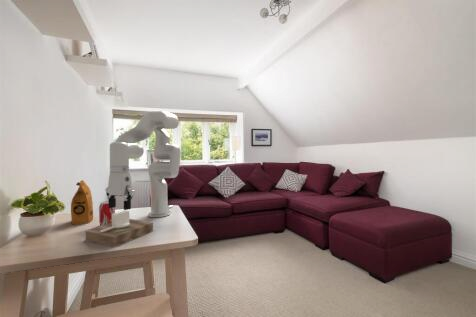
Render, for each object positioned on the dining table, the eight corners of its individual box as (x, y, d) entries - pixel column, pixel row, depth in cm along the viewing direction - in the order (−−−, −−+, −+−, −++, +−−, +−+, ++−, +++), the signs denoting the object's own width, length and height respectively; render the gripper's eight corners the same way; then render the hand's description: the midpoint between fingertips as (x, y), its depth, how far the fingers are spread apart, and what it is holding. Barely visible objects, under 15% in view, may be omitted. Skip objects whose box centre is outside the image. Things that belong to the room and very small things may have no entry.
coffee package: (67, 226, 116) (66, 183, 116) (74, 219, 128) (73, 180, 127) (90, 223, 120) (89, 182, 119) (95, 217, 132) (94, 179, 131)
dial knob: (122, 222, 107) (122, 210, 107) (133, 224, 104) (132, 211, 104) (95, 231, 95) (94, 217, 95) (106, 233, 92) (105, 219, 92)
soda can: (108, 228, 113) (107, 204, 112) (96, 227, 114) (95, 203, 114) (118, 223, 120) (117, 200, 119) (106, 223, 121) (106, 200, 121)
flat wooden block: (126, 226, 115) (126, 217, 115) (153, 231, 108) (152, 222, 108) (85, 240, 97) (85, 230, 97) (114, 247, 90) (114, 236, 90)
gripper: (140, 170, 101) (140, 208, 101) (113, 169, 109) (114, 205, 109) (125, 170, 95) (126, 212, 95) (98, 170, 102) (98, 208, 102)
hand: (119, 208), depth 102 cm, fingers open, 9 cm apart
